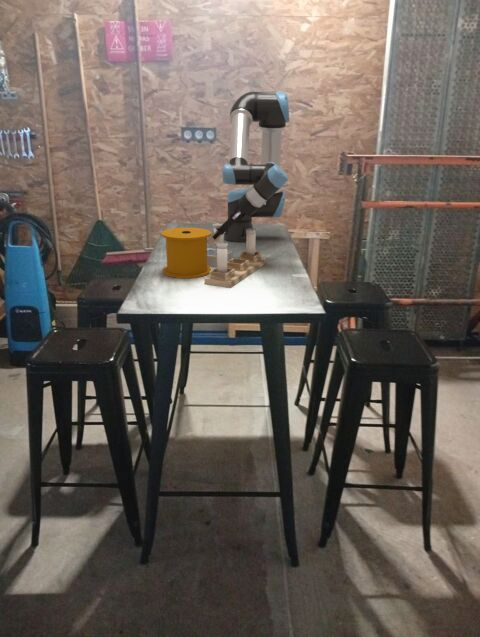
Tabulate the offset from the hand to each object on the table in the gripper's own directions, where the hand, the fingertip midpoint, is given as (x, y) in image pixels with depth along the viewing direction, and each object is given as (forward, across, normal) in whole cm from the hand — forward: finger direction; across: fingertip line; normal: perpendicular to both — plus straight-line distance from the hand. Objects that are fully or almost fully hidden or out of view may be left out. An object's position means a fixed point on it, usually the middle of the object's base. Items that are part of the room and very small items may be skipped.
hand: (210, 241), depth 190 cm
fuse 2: (-7, +2, -16) cm, 17 cm away
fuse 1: (-3, -24, -12) cm, 27 cm away
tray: (+5, +1, -7) cm, 9 cm away
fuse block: (-3, -11, -16) cm, 19 cm away
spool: (+10, -14, -3) cm, 17 cm away
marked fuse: (0, 0, -6) cm, 6 cm away
